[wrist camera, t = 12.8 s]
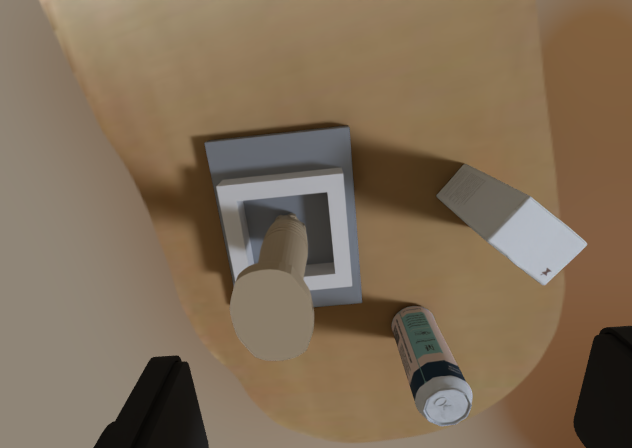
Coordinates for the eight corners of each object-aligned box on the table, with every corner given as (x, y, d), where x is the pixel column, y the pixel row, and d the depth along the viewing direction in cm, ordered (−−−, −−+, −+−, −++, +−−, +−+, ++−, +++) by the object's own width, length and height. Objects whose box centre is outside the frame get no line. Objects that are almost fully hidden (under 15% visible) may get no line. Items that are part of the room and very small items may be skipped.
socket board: (208, 140, 35) (196, 147, 31) (347, 125, 35) (351, 130, 31) (242, 306, 41) (234, 328, 38) (360, 295, 41) (365, 316, 37)
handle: (270, 260, 38) (244, 365, 24) (257, 199, 36) (219, 276, 22) (318, 253, 38) (320, 355, 24) (307, 191, 35) (303, 264, 21)
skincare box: (508, 196, 37) (592, 245, 26) (477, 229, 38) (544, 289, 27) (463, 160, 36) (531, 194, 25) (433, 195, 37) (484, 242, 26)
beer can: (409, 346, 43) (442, 438, 32) (381, 322, 42) (406, 408, 31) (442, 321, 42) (488, 408, 31) (414, 295, 41) (452, 375, 30)
